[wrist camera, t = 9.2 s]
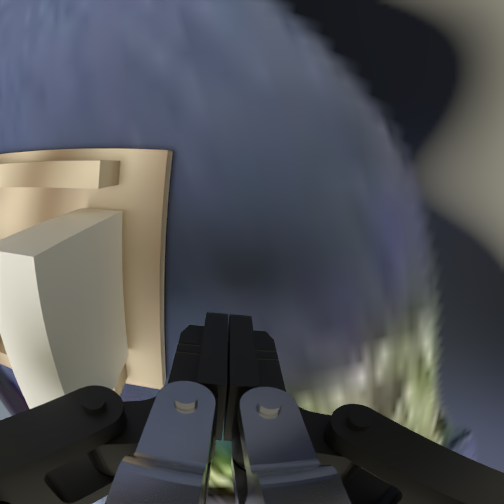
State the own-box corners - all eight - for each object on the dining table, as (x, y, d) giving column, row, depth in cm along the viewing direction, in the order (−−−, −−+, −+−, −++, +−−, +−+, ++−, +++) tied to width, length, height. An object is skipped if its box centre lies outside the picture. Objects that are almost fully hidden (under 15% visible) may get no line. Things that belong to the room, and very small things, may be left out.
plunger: (122, 211, 11) (33, 256, 5) (128, 355, 13) (88, 449, 7) (-27, 203, 10) (-105, 229, 4) (-10, 318, 12) (-66, 369, 6)
